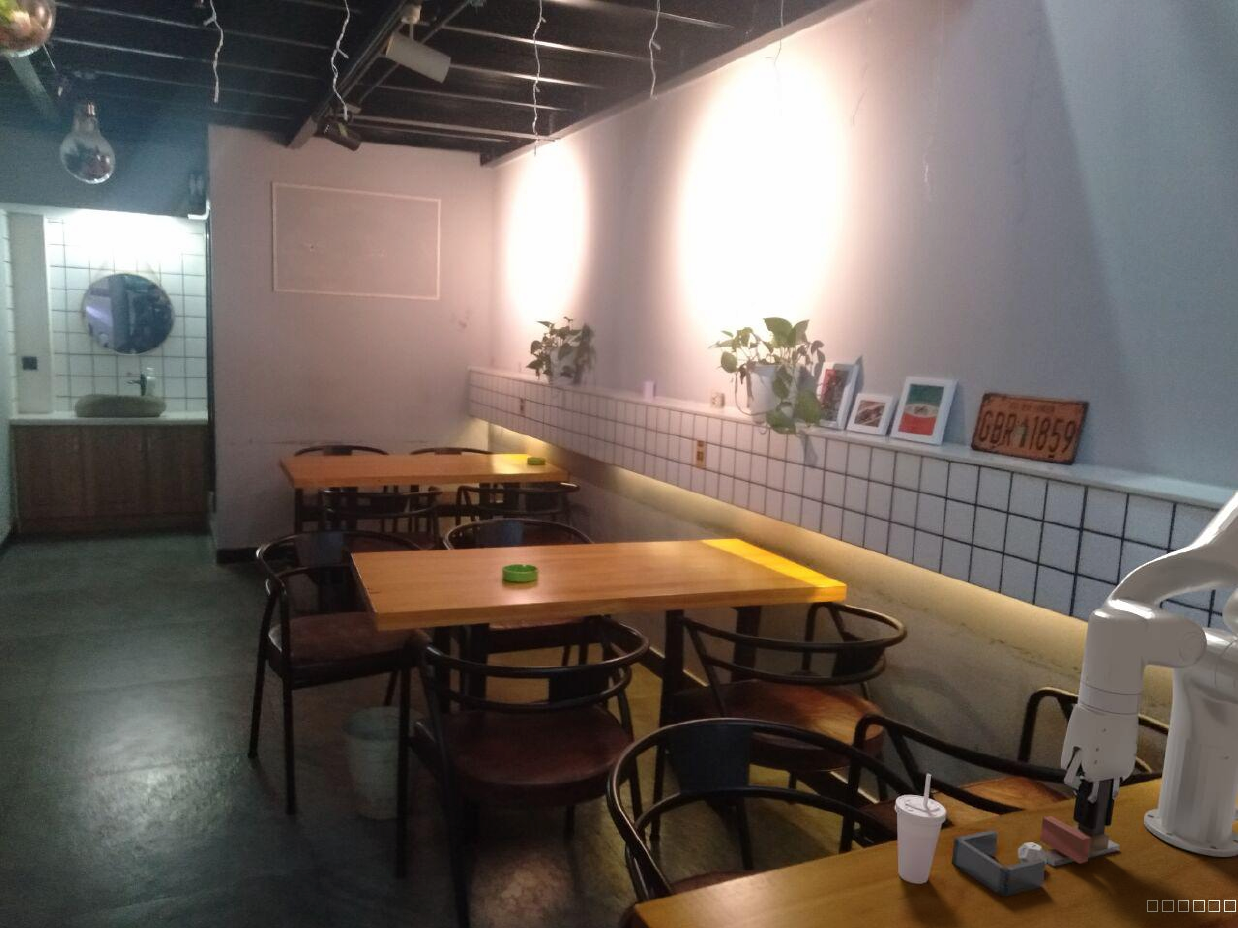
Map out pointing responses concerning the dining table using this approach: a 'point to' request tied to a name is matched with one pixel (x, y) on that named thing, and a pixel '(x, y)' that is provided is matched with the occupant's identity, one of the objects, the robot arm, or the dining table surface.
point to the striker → (1079, 831)
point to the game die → (1031, 852)
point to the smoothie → (917, 834)
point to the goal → (995, 865)
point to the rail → (1059, 858)
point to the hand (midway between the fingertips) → (1091, 821)
